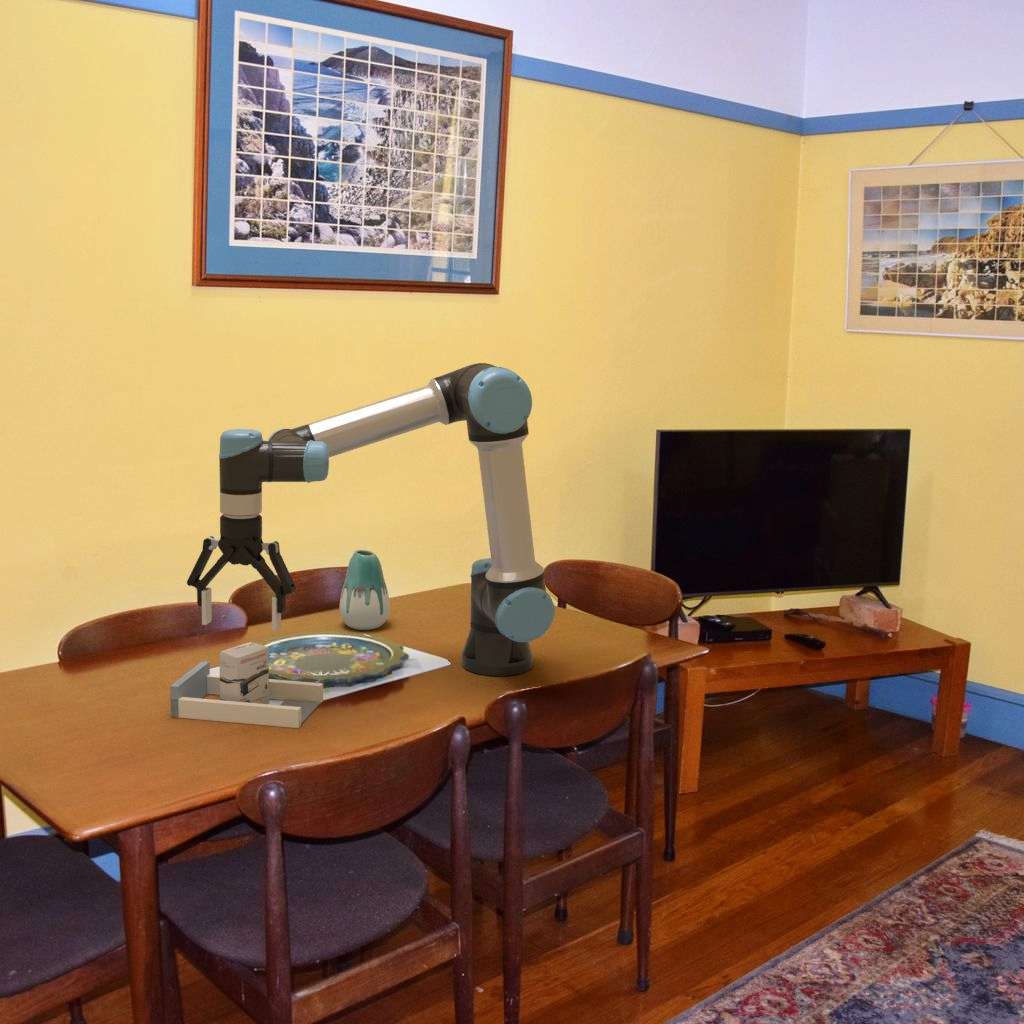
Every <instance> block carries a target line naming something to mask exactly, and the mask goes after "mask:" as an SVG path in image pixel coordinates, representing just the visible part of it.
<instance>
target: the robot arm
mask: <svg viewBox="0 0 1024 1024" xmlns="http://www.w3.org/2000/svg"><path fill="white" fill-rule="evenodd" d="M532 397H533V396H532V393H531V391H530V387H529V386H528V384H527V382H526V381H525V380H524V379H523V378H522V377H521V376H520V375H519V374H517V373H516V371H513V370H512V369H511V370H510V369H509V368H506V367H503V366H496V365H493V364H491V363H487V362H479V363H473V364H469V365H467V366H464V367H461V368H459V369H456V370H454V371H450V372H447V373H445V374H443V375H440V376H437V377H434V378H431V379H430V380H429V382H428V384H427V385H425V386H423V387H419V388H415V389H413V390H410V391H407V392H403V393H401V394H397V395H394V396H391V397H387V398H383V399H382V400H379V401H376V402H372V403H370V404H366V405H362V406H359V407H357V408H353V409H350V410H348V411H347V410H346V411H344V412H341V413H338V414H335V415H332V416H329V417H325V418H323V419H318V420H316V421H313V422H310V423H307V424H305V425H301V426H297V427H294V428H280V429H277V430H276V431H274V432H273V433H272V434H271V435H270V436H269V438H268V439H267V440H264V438H263V434H262V432H261V431H259V430H257V429H251V428H250V429H248V428H232V429H227V430H225V431H223V432H222V433H221V435H220V437H219V454H218V461H219V462H218V463H219V465H218V466H219V512H220V514H221V515H220V517H219V535H220V538H219V539H218V538H215V537H214V536H212V535H211V536H208V537H206V538H204V539H203V541H202V550H201V552H200V554H199V556H198V559H197V560H196V563H195V564H194V567H192V568H193V569H192V571H191V573H190V574H189V576H188V579H187V580H186V584H187V586H189V587H191V586H192V587H194V588H195V589H196V599H197V601H196V603H197V606H198V607H201V626H207V625H208V624H209V623H211V622H212V620H213V619H212V618H213V617H212V616H213V615H212V613H213V612H212V611H213V610H212V587H210V586H209V584H210V583H211V582H212V580H213V579H214V578H215V577H216V576H217V575H218V574H219V573H220V571H221V570H222V569H223V568H224V567H225V566H226V565H227V564H228V563H229V564H230V565H242V566H246V567H247V566H249V565H250V566H252V568H253V569H255V570H256V571H257V572H258V574H259V576H261V578H262V579H263V580H264V581H265V582H266V584H267V585H268V586H269V587H270V590H272V592H273V593H274V595H273V596H271V632H277V631H278V630H279V629H281V628H282V614H283V613H284V612H285V611H286V609H287V604H286V603H287V599H286V598H287V595H290V594H292V593H294V592H295V591H296V590H297V586H296V585H295V583H294V580H293V577H292V576H291V574H290V572H289V569H288V567H287V565H286V563H285V561H284V558H283V557H282V555H281V549H280V543H279V542H278V541H276V540H275V541H273V542H264V541H263V516H261V513H262V512H263V483H308V484H310V483H313V482H323V481H325V480H326V479H327V478H328V474H329V470H330V458H333V457H335V456H338V455H341V454H344V453H347V452H350V451H353V450H357V449H360V448H363V447H366V446H368V445H371V444H375V443H378V442H381V441H385V440H387V439H391V438H394V437H397V436H400V435H403V434H407V433H409V432H412V431H415V430H418V429H421V428H424V427H428V426H431V425H433V424H434V425H435V424H436V423H441V424H442V425H451V424H453V423H454V424H455V423H456V422H457V423H458V422H462V421H464V422H465V421H466V427H467V436H468V441H469V442H470V444H472V445H473V446H474V447H476V449H477V452H478V462H479V470H480V471H479V472H480V476H481V477H480V478H481V485H482V487H481V488H482V494H483V495H482V496H483V503H484V511H485V518H486V519H485V520H486V528H487V535H488V544H489V551H490V557H489V558H488V557H487V558H482V559H477V560H475V561H473V563H472V566H471V573H470V623H469V624H470V626H469V627H470V629H469V632H468V634H467V638H466V641H465V643H464V647H463V649H462V652H461V666H462V668H464V669H465V670H466V671H469V672H470V673H471V672H472V673H474V674H478V675H484V676H493V677H497V676H498V677H504V676H516V675H519V674H524V673H525V672H528V671H529V670H531V669H532V667H533V661H534V659H533V657H534V656H533V652H532V649H531V645H530V642H533V641H536V640H537V639H539V638H541V637H542V636H544V634H546V632H548V630H549V629H550V628H551V626H552V624H553V622H554V619H555V616H556V613H555V612H556V608H555V604H554V602H553V599H552V596H551V595H550V594H549V593H548V592H547V587H546V579H545V569H544V566H542V565H541V564H539V562H537V561H536V559H535V557H536V556H535V550H534V539H533V531H532V521H531V513H530V504H529V496H528V495H529V494H528V486H527V476H526V468H525V460H524V459H525V458H524V450H523V449H524V448H523V443H524V441H525V440H526V439H527V437H528V436H529V435H530V432H529V423H528V419H529V417H530V415H531V412H532V408H533V398H532ZM217 547H218V549H219V550H220V552H221V553H222V555H221V556H220V557H219V558H218V559H217V560H216V562H215V563H214V565H213V566H212V567H211V568H210V569H209V570H208V571H207V572H206V574H205V575H204V576H203V577H202V578H201V576H202V574H203V572H204V570H205V568H206V566H207V564H208V562H209V560H210V558H211V556H212V554H213V552H214V550H216V549H217ZM263 551H265V553H266V554H267V555H268V556H269V559H270V562H271V564H272V566H273V568H274V571H275V573H276V574H277V575H276V574H275V573H274V571H273V570H272V568H271V567H270V566H269V565H268V564H267V562H266V559H265V558H264V556H262V554H261V553H262V552H263ZM200 578H201V579H200ZM207 586H209V587H207Z"/></svg>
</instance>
